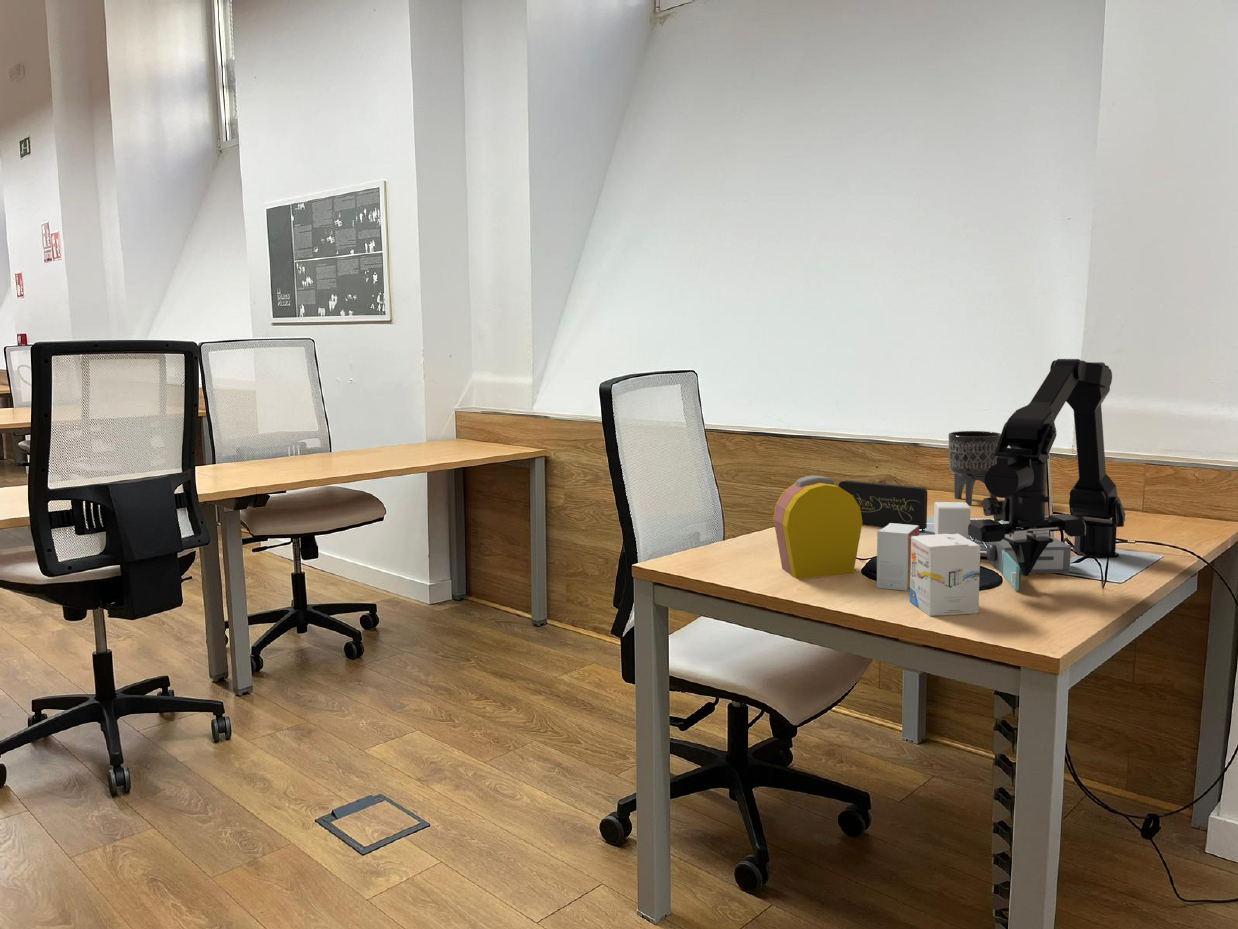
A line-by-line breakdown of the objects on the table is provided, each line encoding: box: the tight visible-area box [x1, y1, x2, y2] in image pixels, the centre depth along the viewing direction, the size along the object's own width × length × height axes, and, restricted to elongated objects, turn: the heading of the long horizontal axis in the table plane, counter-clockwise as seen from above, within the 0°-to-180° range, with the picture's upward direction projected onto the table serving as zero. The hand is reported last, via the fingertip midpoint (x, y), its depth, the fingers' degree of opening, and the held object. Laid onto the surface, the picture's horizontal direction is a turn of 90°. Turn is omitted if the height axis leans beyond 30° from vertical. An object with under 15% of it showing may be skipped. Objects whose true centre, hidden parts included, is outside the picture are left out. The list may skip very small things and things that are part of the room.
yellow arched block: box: [772, 474, 863, 580], centre depth 177 cm, size 15×8×18 cm, turn 100°
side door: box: [1000, 550, 1020, 591], centre depth 166 cm, size 12×1×4 cm, turn 169°
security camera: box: [933, 501, 972, 539], centre depth 188 cm, size 6×7×10 cm
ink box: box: [909, 533, 981, 617], centre depth 152 cm, size 9×8×12 cm
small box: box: [876, 523, 920, 592], centre depth 167 cm, size 8×6×10 cm
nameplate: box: [838, 479, 928, 530], centre depth 214 cm, size 21×2×10 cm, turn 49°
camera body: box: [985, 536, 1072, 575], centre depth 175 cm, size 13×8×6 cm, turn 87°
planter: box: [948, 430, 1001, 506], centre depth 239 cm, size 13×13×18 cm
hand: (1025, 575), depth 162 cm, fingers closed
